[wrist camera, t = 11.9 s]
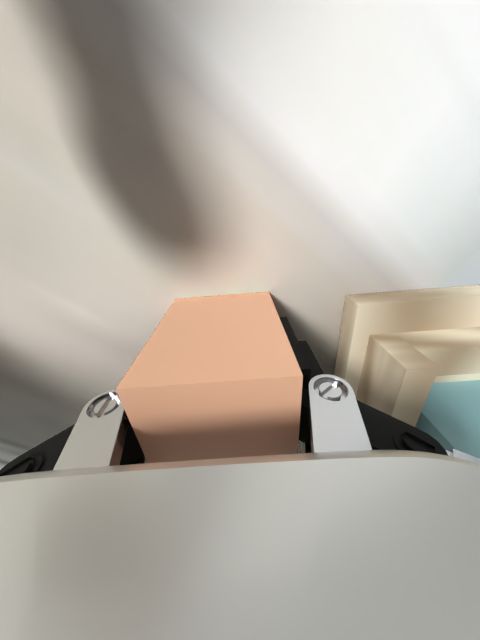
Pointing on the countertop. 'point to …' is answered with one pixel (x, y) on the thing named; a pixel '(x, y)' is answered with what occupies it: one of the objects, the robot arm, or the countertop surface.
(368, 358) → the jig
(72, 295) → the countertop surface
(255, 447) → the peach brick
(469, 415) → the light blue block
